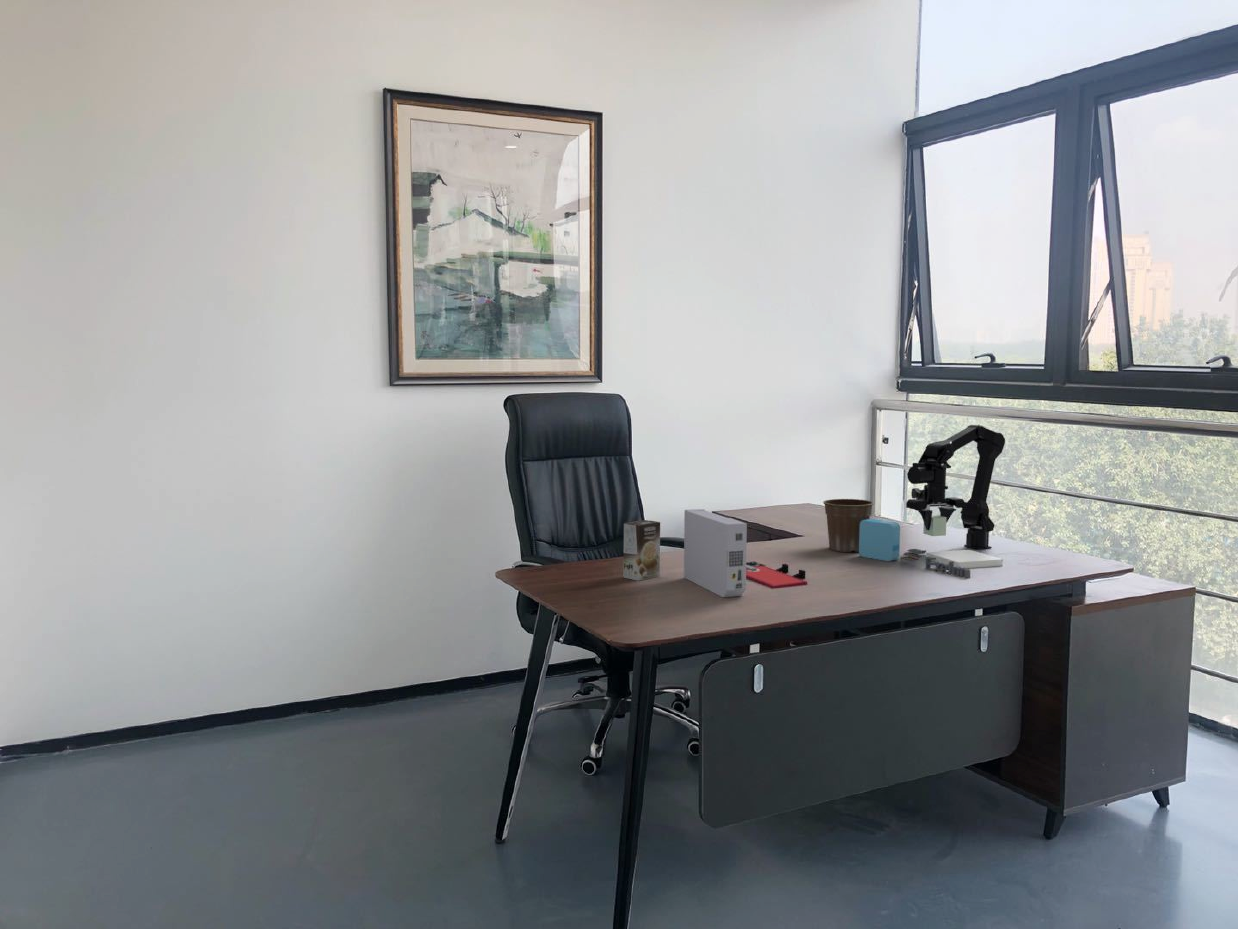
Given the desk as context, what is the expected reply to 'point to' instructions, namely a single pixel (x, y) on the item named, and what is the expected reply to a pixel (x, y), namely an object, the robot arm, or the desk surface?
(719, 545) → the game console
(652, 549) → the coffee box
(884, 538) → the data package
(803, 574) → the red board with handle
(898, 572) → the desk surface
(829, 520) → the plant pot
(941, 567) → the extruded letter logo
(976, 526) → the robot arm
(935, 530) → the sage block
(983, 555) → the base plate
